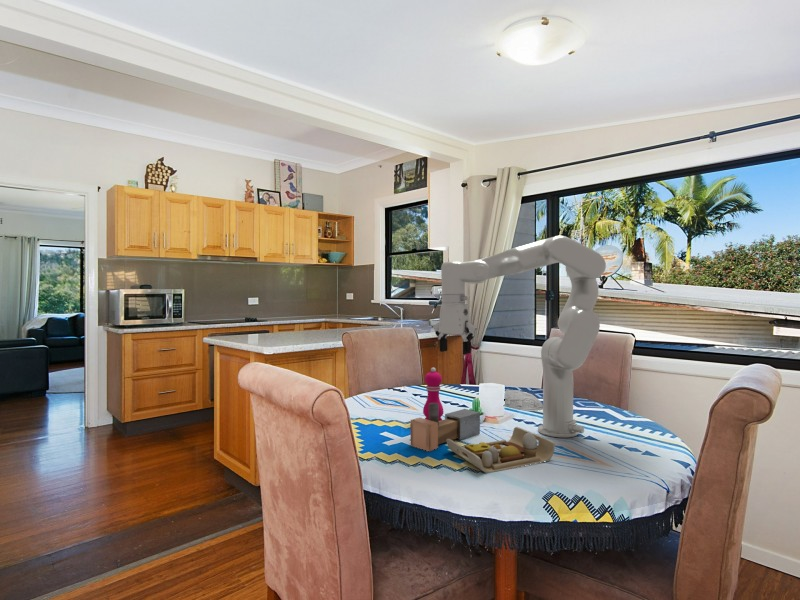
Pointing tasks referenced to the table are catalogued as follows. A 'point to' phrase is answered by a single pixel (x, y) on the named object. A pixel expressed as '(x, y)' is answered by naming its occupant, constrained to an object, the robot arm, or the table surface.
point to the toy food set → (506, 451)
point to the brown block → (424, 434)
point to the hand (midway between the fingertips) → (455, 352)
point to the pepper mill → (433, 392)
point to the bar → (443, 424)
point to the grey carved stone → (522, 401)
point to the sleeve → (466, 422)
